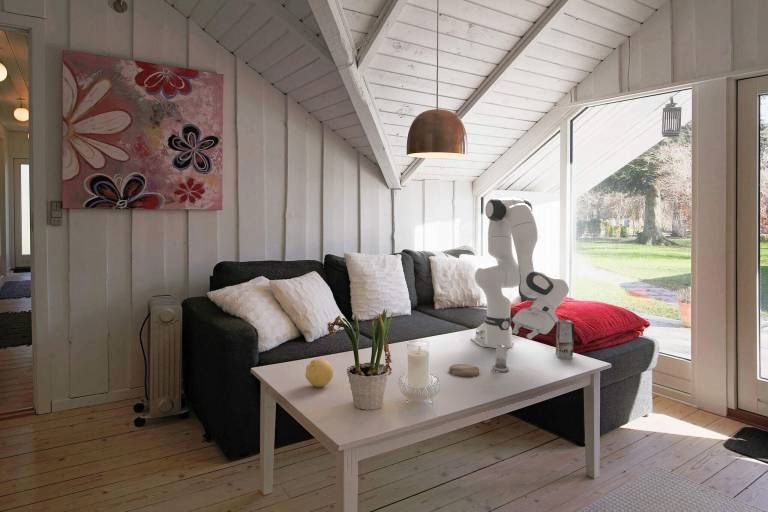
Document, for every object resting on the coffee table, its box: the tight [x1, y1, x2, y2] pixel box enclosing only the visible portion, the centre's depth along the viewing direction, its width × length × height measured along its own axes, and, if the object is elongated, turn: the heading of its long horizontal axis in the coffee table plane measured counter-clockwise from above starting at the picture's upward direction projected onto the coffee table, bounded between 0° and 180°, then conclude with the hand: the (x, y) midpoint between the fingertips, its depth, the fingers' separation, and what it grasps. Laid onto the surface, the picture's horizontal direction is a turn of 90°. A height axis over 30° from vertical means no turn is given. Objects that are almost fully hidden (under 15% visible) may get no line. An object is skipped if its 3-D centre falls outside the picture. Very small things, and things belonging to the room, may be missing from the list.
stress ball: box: [305, 358, 334, 388], centre depth 184 cm, size 10×10×10 cm
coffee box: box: [555, 318, 575, 360], centre depth 230 cm, size 9×6×16 cm
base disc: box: [448, 363, 480, 378], centre depth 204 cm, size 12×12×2 cm
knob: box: [492, 345, 510, 373], centre depth 208 cm, size 6×6×10 cm
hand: (521, 335), depth 210 cm, fingers open, 8 cm apart
